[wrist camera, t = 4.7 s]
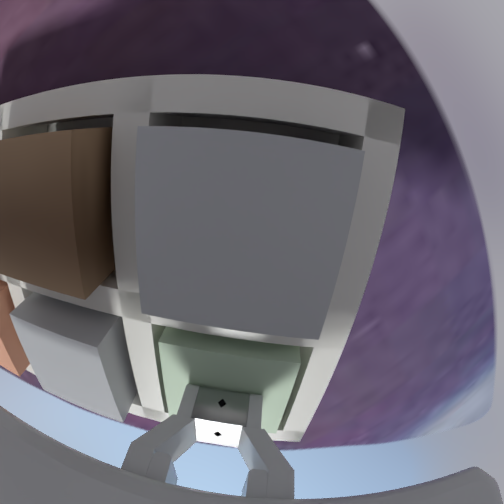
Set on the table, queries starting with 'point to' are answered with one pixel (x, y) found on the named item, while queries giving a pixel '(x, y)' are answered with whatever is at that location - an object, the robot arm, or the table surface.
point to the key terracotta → (10, 336)
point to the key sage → (229, 369)
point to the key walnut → (57, 210)
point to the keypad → (214, 230)
